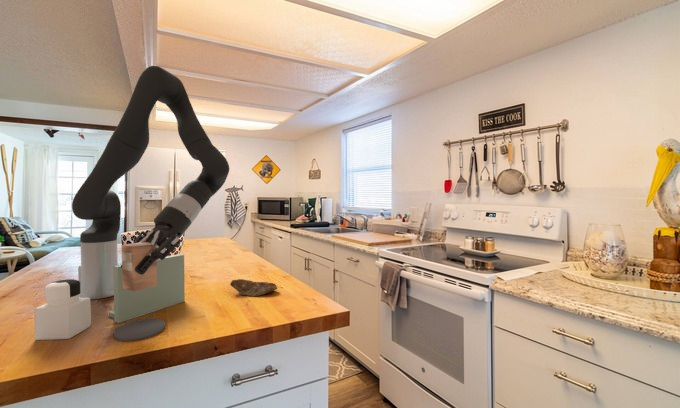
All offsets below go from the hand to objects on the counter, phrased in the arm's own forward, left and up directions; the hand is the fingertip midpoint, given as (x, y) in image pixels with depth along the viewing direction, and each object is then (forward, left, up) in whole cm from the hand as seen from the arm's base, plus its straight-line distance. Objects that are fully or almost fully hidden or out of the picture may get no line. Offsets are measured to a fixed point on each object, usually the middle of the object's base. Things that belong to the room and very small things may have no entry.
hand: (131, 270), depth 72 cm
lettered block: (+1, +2, -4) cm, 5 cm away
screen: (-8, +15, -15) cm, 22 cm away
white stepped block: (-16, -2, -15) cm, 22 cm away
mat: (+1, +2, -15) cm, 15 cm away
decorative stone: (+15, +34, -15) cm, 40 cm away
